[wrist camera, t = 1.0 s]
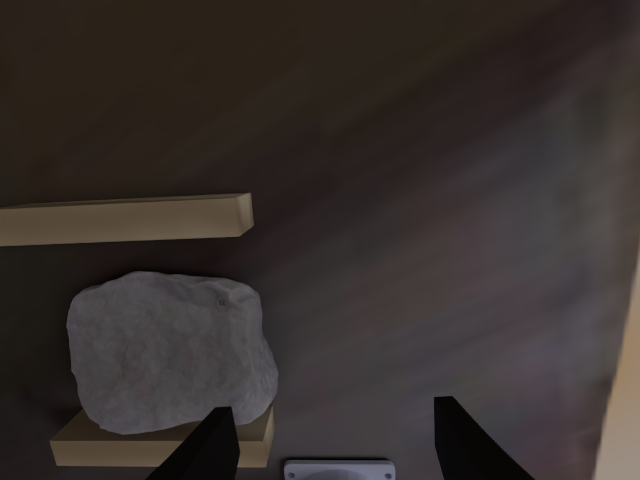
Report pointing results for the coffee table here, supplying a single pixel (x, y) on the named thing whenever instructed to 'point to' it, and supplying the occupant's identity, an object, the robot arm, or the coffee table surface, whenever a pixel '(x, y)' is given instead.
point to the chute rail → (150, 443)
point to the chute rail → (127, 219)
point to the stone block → (169, 351)
